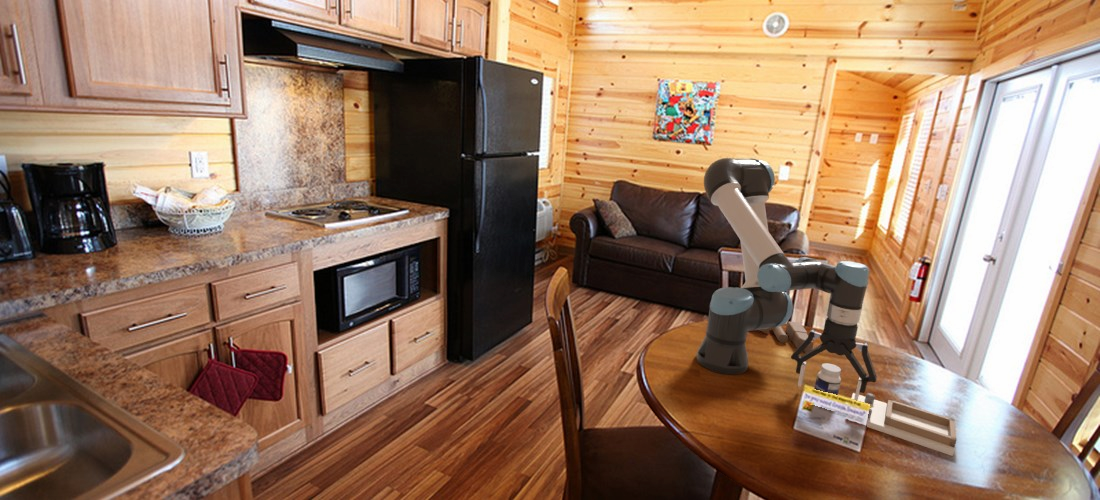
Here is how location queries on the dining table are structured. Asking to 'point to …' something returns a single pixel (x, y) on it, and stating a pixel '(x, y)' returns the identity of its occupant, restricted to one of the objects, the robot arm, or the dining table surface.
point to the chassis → (911, 424)
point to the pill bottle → (828, 379)
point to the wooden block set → (792, 334)
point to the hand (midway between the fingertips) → (826, 393)
